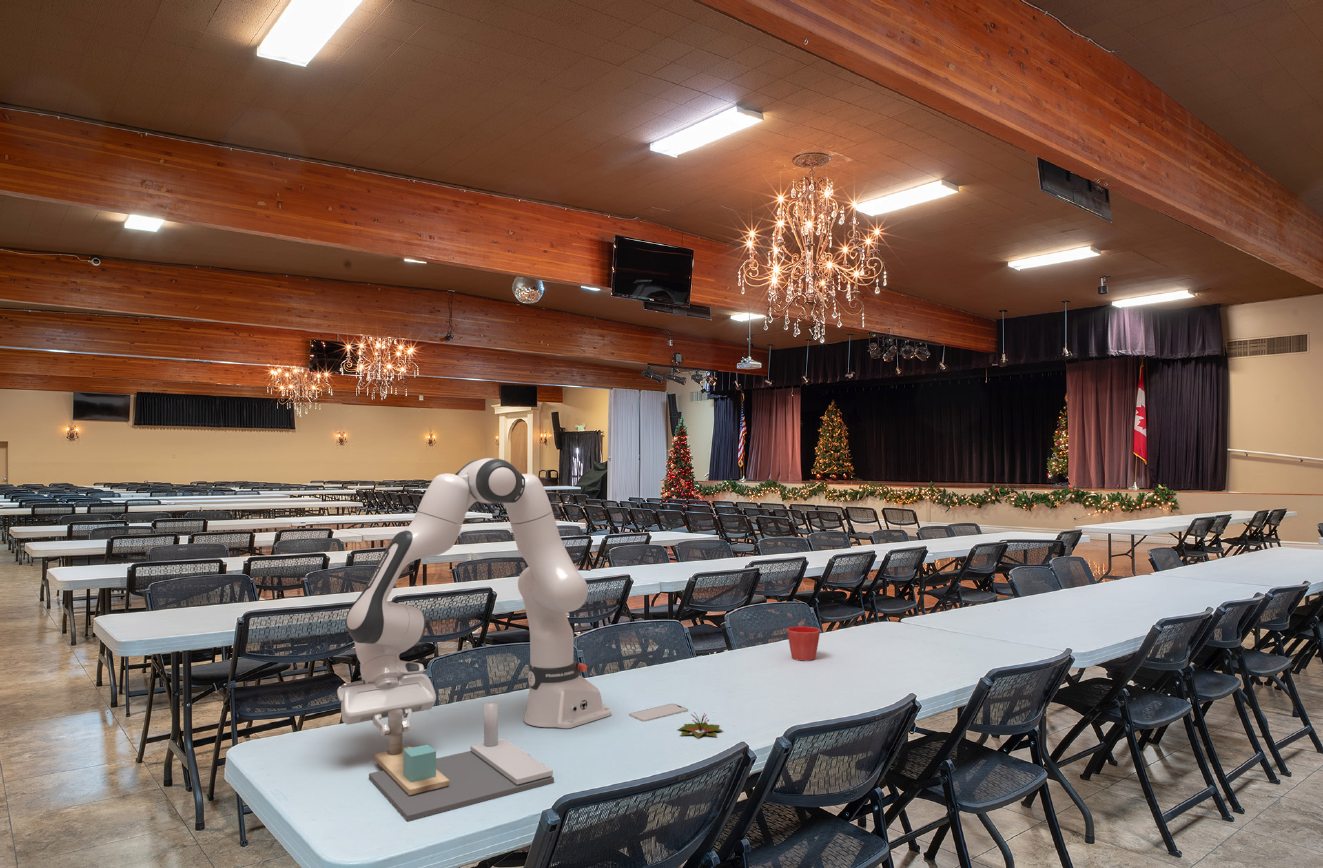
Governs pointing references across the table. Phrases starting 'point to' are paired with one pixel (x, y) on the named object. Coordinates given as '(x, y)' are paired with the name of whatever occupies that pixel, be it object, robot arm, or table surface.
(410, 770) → the teal block
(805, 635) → the flower pot
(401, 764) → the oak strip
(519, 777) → the pale board with post
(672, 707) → the smartphone
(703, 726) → the lily flower
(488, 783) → the lane mat
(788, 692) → the table surface
